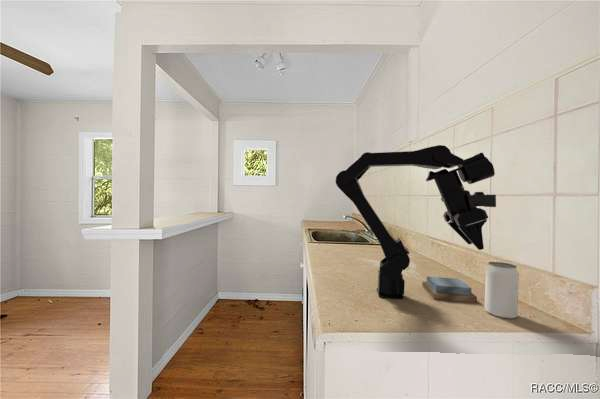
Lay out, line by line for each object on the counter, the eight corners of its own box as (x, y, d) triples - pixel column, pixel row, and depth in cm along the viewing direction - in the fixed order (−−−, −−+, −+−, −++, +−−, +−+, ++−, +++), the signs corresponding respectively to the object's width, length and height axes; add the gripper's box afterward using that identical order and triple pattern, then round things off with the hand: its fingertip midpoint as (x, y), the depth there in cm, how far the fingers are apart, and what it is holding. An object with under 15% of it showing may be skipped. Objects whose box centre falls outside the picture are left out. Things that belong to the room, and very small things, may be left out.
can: (523, 321, 63) (525, 268, 63) (492, 317, 64) (493, 266, 64) (508, 309, 69) (509, 262, 69) (479, 307, 70) (481, 260, 70)
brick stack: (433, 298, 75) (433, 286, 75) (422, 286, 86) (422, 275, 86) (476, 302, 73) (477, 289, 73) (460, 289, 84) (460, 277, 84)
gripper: (498, 176, 62) (527, 242, 60) (473, 182, 79) (496, 232, 78) (446, 193, 65) (473, 256, 63) (434, 195, 83) (455, 244, 81)
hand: (475, 246), depth 71 cm, fingers open, 9 cm apart
